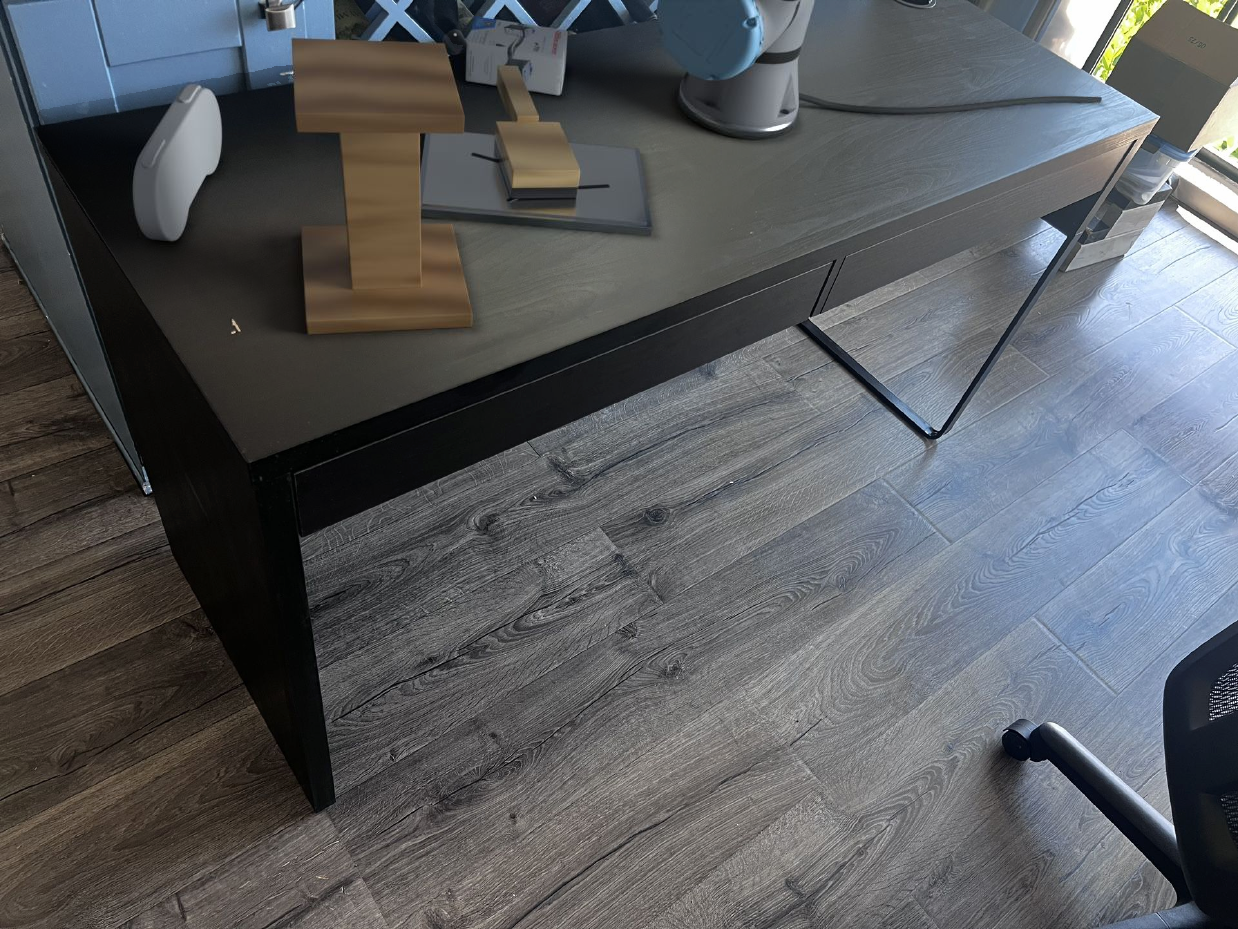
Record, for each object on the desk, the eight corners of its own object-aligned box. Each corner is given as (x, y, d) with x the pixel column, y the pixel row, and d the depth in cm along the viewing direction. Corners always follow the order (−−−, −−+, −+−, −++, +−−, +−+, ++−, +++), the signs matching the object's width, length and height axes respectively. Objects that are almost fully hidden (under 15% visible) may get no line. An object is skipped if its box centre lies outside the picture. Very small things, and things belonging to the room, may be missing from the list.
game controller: (204, 146, 97) (188, 67, 91) (227, 149, 97) (213, 70, 91) (143, 256, 84) (120, 173, 78) (169, 259, 84) (149, 176, 78)
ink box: (474, 14, 117) (568, 27, 118) (474, 54, 120) (565, 66, 121) (465, 43, 111) (564, 56, 112) (465, 85, 115) (561, 97, 115)
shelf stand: (472, 327, 84) (479, 122, 70) (307, 334, 80) (280, 119, 66) (451, 236, 93) (454, 37, 78) (302, 239, 89) (277, 31, 75)
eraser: (577, 197, 98) (581, 164, 96) (511, 198, 96) (513, 164, 94) (534, 97, 112) (537, 66, 110) (476, 96, 110) (477, 64, 108)
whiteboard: (637, 156, 108) (639, 146, 108) (651, 236, 98) (653, 225, 97) (426, 136, 105) (426, 125, 104) (415, 216, 94) (415, 205, 93)
